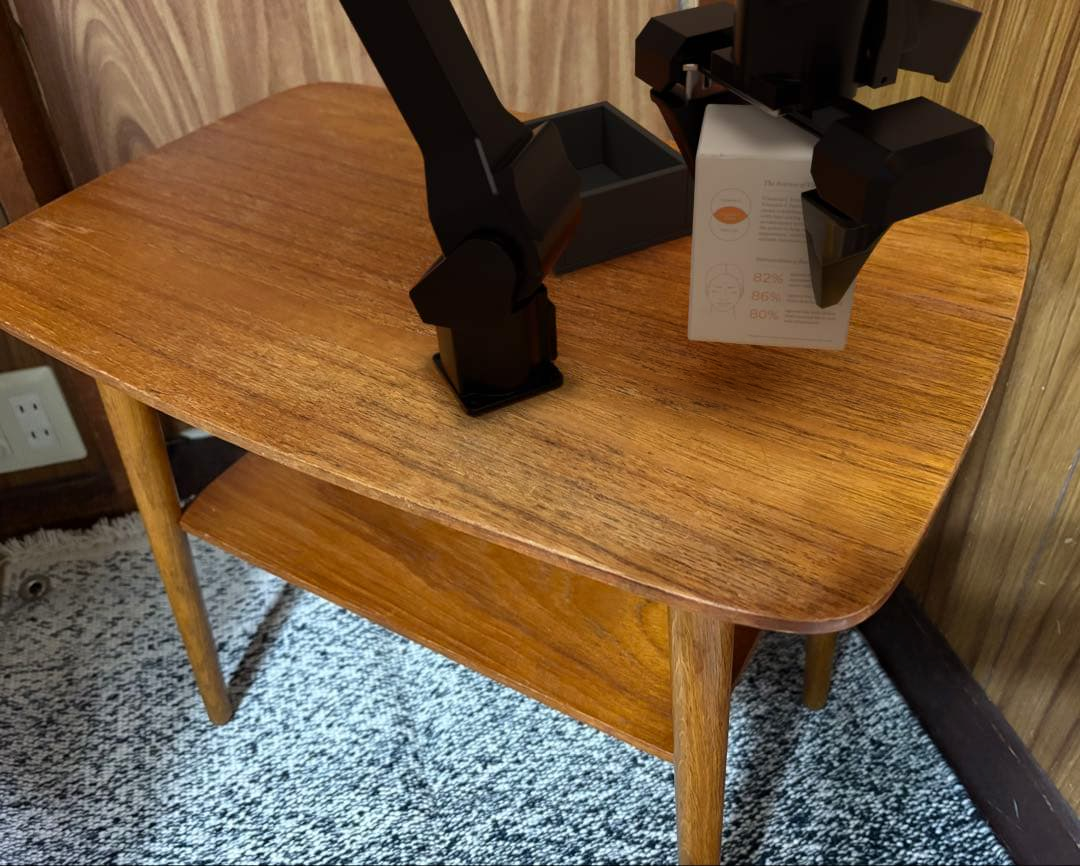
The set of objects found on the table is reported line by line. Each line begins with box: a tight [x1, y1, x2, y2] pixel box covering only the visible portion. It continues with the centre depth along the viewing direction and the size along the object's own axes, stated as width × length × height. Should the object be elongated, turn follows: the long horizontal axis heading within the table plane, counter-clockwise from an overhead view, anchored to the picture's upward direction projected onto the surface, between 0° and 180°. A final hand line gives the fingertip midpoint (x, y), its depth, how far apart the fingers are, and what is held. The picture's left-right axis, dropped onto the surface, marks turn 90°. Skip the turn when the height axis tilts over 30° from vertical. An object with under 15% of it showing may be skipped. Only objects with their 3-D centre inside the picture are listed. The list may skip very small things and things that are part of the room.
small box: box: [687, 104, 859, 351], centre depth 49 cm, size 8×6×10 cm
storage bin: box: [521, 100, 695, 277], centre depth 75 cm, size 11×13×6 cm
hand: (772, 262), depth 50 cm, fingers closed on small box, 8 cm apart
